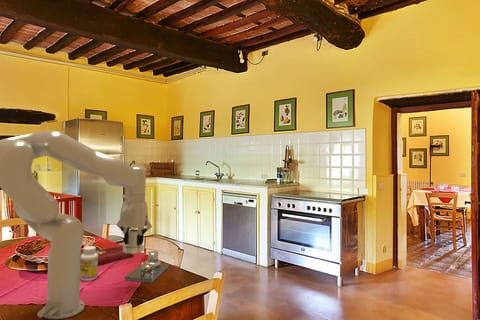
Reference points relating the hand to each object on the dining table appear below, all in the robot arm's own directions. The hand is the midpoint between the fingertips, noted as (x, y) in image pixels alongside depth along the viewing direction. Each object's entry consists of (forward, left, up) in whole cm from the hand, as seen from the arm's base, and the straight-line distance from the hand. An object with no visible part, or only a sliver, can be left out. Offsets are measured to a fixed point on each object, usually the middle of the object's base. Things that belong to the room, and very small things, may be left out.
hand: (133, 243), depth 133 cm
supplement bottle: (+4, +21, -17) cm, 27 cm away
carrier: (+15, 0, -17) cm, 22 cm away
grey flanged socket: (0, 0, -3) cm, 3 cm away
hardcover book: (+29, +26, -18) cm, 43 cm away
